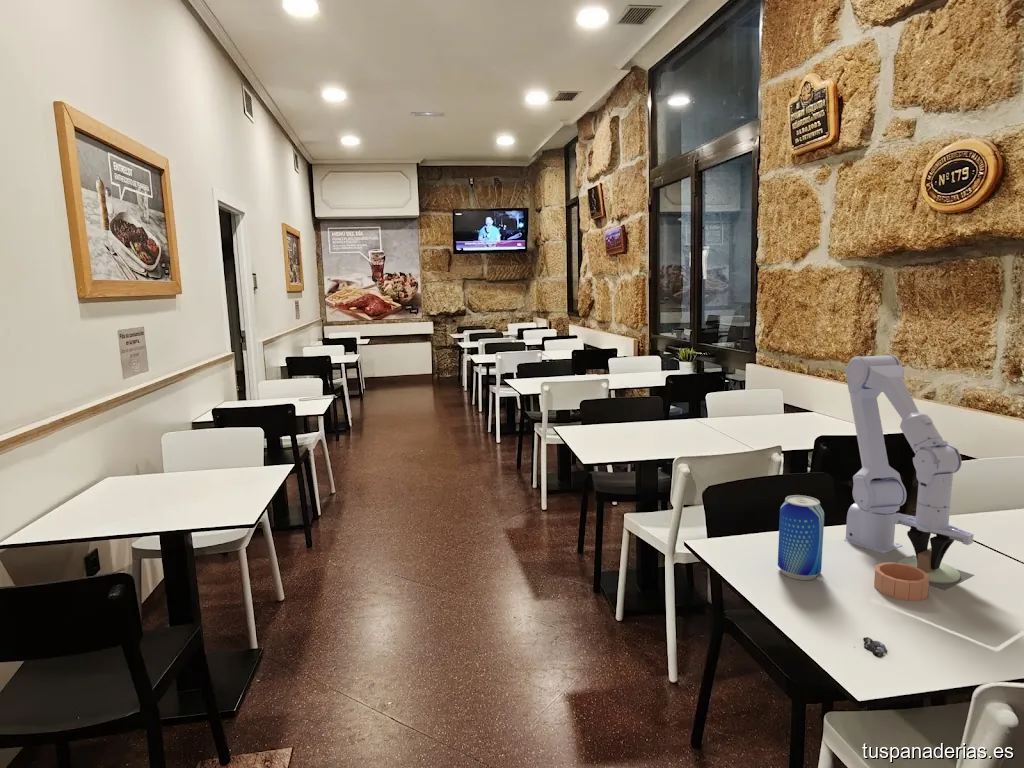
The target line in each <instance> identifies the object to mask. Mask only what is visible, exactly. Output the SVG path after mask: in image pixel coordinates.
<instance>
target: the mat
mask: <svg viewBox="0 0 1024 768" xmlns="http://www.w3.org/2000/svg"><path fill="white" fill-rule="evenodd" d="M906 558H916V554H912V555H910V556H908V557H906ZM895 563H898V561H896V562H895ZM955 569H956V570H957V571H958V572H959V573H960V579H959V581H957V582H954V583H947V584H941V583H931V582H929V586H931V587H934V588H936V589H939V590H942V591H947V590H948V589H951V588H952V587H954V586H956V585H958V584H960V583H962V582H964V581H966V580H967V579H970V578H972V577H974V576H975V574H972V573H968V572H967V571H964V570H960V569H957V568H955Z"/></svg>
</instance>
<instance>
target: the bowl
mask: <svg viewBox="0 0 1024 768" xmlns="http://www.w3.org/2000/svg"><path fill="white" fill-rule="evenodd" d="M929 586H930V585H929V576H928V574H927V573H926V572H924V571H923V570H921V569H919V568H916V567H913V566H910V565H907V564H901V563H896V562H895V561H891V562H890V561H889V562H888V561H887V562H886V561H885V562H880V563H878V564H876V565H874V579H873V588H875V589H876V590H877V591H879V593H881V594H884V595H886V596H888V597H891V598H894V599H898V600H905V601H922V600H924V599H926V598H928V597H929Z"/></svg>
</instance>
